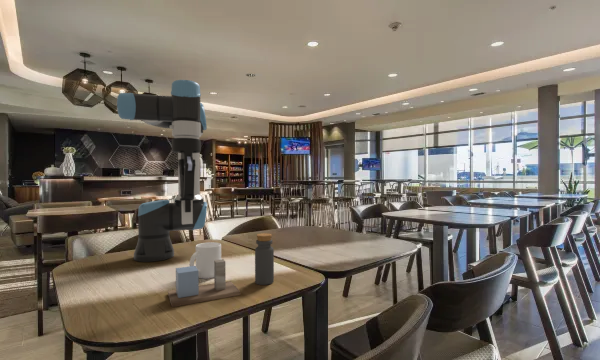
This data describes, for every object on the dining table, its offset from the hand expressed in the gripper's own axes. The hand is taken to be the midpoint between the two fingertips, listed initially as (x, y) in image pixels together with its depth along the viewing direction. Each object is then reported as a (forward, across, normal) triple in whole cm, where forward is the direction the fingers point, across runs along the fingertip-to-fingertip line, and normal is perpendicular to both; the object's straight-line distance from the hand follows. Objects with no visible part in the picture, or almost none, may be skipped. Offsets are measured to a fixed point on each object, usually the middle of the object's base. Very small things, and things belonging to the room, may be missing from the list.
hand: (187, 223), depth 89 cm
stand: (+20, +1, +4) cm, 21 cm away
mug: (+21, -16, +8) cm, 27 cm away
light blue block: (+19, +1, 0) cm, 19 cm away
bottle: (+21, -1, +23) cm, 31 cm away
